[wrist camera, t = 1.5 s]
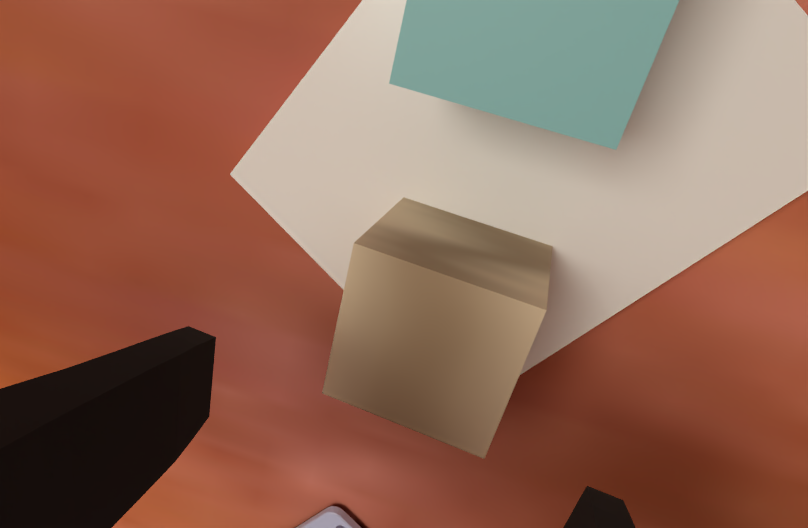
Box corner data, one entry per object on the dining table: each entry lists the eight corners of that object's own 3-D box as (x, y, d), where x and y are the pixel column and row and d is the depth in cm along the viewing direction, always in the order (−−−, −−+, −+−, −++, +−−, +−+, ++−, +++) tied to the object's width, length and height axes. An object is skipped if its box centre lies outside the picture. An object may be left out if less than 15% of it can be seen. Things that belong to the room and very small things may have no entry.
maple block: (552, 246, 15) (546, 310, 11) (502, 370, 17) (484, 458, 13) (403, 197, 15) (353, 242, 12) (372, 322, 17) (322, 393, 14)
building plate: (888, 125, 12) (902, 129, 11) (466, 400, 18) (463, 411, 18) (569, -256, 11) (568, -270, 11) (240, 170, 17) (229, 174, 17)
